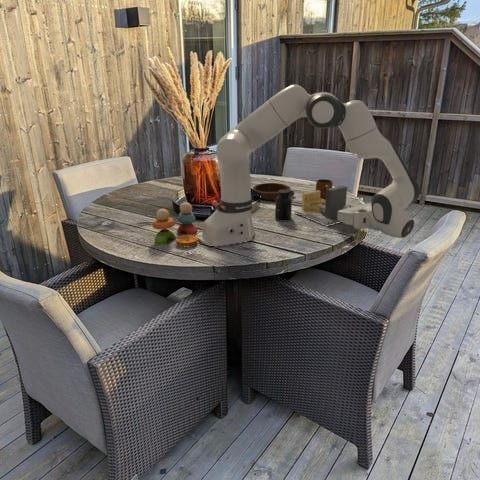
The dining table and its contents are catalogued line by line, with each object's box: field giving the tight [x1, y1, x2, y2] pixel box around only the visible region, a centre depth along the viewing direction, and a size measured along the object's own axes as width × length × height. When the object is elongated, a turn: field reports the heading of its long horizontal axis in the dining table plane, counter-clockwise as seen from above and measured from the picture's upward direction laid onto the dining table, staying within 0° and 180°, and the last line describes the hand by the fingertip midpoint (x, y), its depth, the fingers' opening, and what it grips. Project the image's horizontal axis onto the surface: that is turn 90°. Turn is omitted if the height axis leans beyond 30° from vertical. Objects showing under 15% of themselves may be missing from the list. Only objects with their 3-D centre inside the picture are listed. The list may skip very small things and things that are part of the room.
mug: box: [315, 178, 333, 200], centre depth 205 cm, size 12×8×9 cm, turn 2°
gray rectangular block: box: [321, 185, 348, 219], centre depth 182 cm, size 9×6×12 cm
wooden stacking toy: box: [152, 202, 199, 248], centre depth 165 cm, size 18×17×12 cm
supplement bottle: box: [274, 190, 293, 221], centre depth 184 cm, size 7×7×12 cm
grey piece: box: [294, 190, 340, 225], centre depth 186 cm, size 16×20×8 cm
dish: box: [252, 182, 295, 201], centre depth 214 cm, size 18×22×5 cm
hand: (346, 207), depth 176 cm, fingers closed
